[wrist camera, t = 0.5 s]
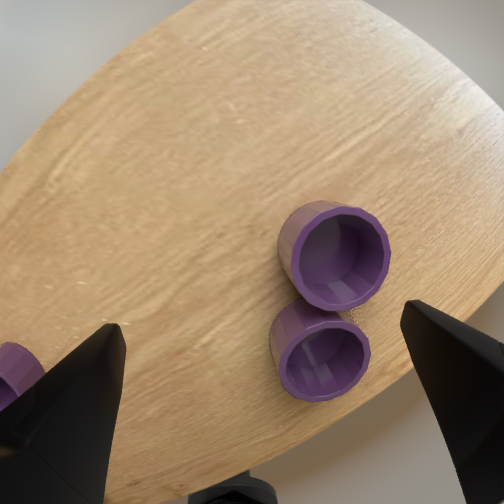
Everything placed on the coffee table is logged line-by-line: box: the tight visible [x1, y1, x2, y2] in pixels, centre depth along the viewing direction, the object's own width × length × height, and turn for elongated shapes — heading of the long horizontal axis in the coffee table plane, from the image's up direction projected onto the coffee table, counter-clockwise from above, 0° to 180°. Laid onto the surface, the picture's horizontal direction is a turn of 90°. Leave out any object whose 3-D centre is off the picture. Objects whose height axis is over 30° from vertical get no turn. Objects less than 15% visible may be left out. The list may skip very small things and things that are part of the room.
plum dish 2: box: [278, 201, 391, 311], centre depth 21 cm, size 6×6×5 cm
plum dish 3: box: [269, 298, 371, 402], centre depth 22 cm, size 6×6×5 cm
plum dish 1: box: [0, 342, 45, 411], centre depth 21 cm, size 6×6×5 cm
